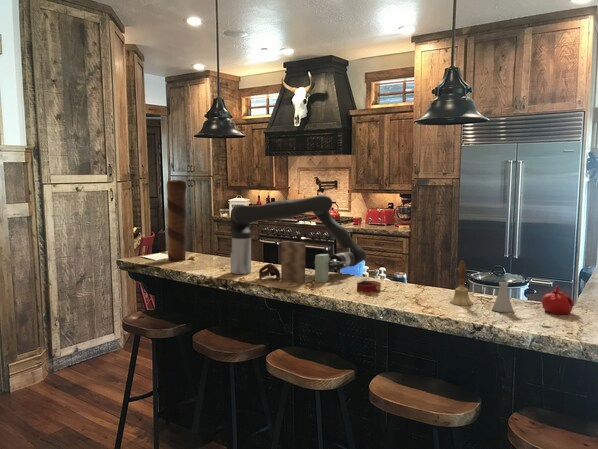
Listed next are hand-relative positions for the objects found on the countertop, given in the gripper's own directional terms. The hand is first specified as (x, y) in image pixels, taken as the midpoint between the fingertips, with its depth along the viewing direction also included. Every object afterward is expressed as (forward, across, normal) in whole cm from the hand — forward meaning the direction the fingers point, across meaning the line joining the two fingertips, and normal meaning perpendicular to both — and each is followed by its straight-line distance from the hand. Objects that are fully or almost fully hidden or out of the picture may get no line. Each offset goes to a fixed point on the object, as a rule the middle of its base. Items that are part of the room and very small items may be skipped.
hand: (321, 265), depth 217 cm
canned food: (+3, +25, +7) cm, 26 cm away
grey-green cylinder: (0, 0, +7) cm, 7 cm away
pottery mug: (+10, -21, +7) cm, 25 cm away
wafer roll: (+1, -95, +7) cm, 95 cm away
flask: (+4, +78, +7) cm, 78 cm away
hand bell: (+2, +63, +7) cm, 63 cm away
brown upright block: (+7, -9, +7) cm, 13 cm away
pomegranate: (-5, +94, +7) cm, 94 cm away
